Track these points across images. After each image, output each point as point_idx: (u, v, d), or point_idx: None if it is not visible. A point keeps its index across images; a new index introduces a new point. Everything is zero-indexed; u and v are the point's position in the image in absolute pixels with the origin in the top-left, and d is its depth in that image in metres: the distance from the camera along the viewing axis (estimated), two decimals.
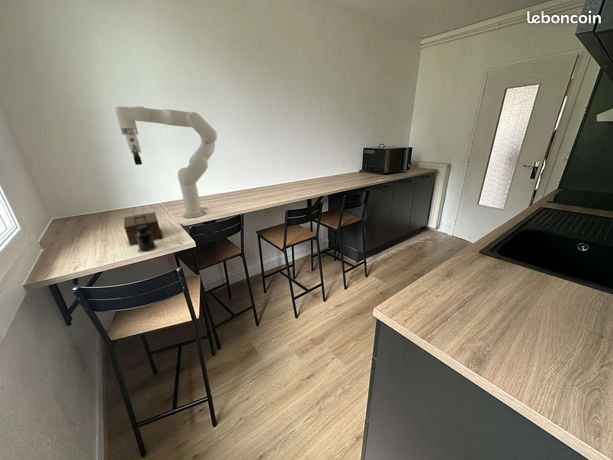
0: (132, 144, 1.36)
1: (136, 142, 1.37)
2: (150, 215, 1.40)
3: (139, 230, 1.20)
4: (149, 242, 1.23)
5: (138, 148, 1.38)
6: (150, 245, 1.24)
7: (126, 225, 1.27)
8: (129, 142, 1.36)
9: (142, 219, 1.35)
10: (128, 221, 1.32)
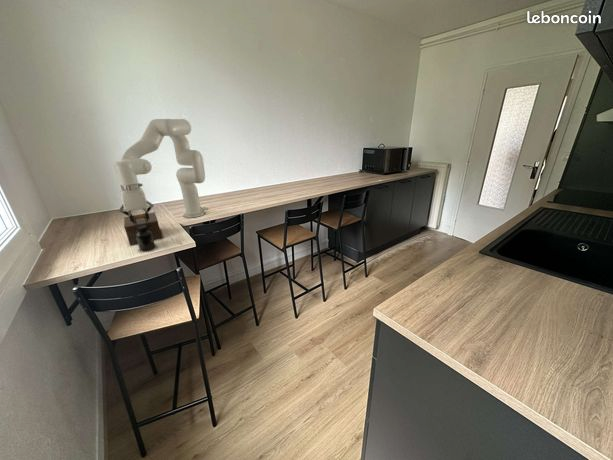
0: (145, 198, 1.28)
1: None
2: (150, 215, 1.40)
3: (139, 230, 1.20)
4: (149, 242, 1.23)
5: None
6: (150, 245, 1.24)
7: (126, 225, 1.27)
8: (144, 196, 1.26)
9: (142, 219, 1.35)
10: (128, 221, 1.32)
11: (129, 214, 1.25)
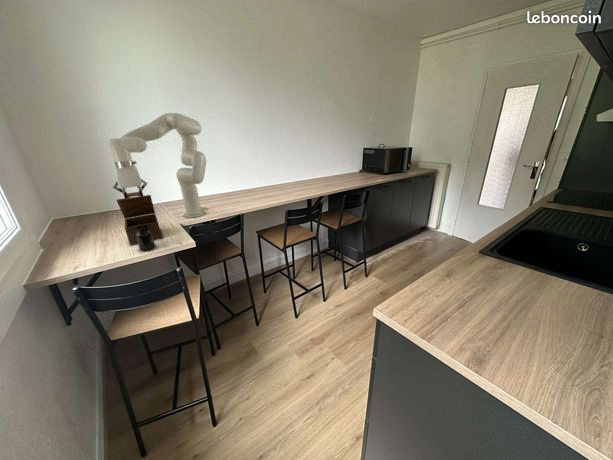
0: (139, 175, 1.31)
1: None
2: None
3: (139, 230, 1.20)
4: (149, 242, 1.23)
5: None
6: (150, 245, 1.24)
7: None
8: (138, 174, 1.29)
9: None
10: None
11: (123, 191, 1.28)
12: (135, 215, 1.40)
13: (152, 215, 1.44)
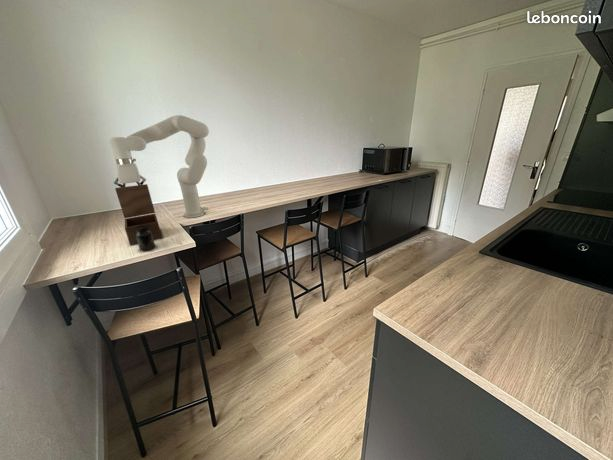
0: (138, 172, 1.39)
1: None
2: None
3: (139, 230, 1.20)
4: (149, 242, 1.23)
5: None
6: (150, 245, 1.24)
7: None
8: (137, 170, 1.38)
9: None
10: None
11: (123, 186, 1.37)
12: (135, 214, 1.40)
13: (152, 215, 1.44)
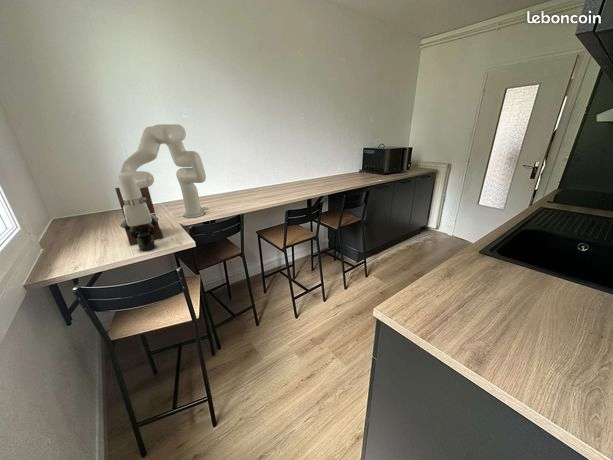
0: (149, 212, 1.22)
1: None
2: None
3: (139, 230, 1.20)
4: (149, 242, 1.23)
5: None
6: (150, 245, 1.24)
7: None
8: (148, 211, 1.20)
9: None
10: None
11: (130, 229, 1.19)
12: None
13: None
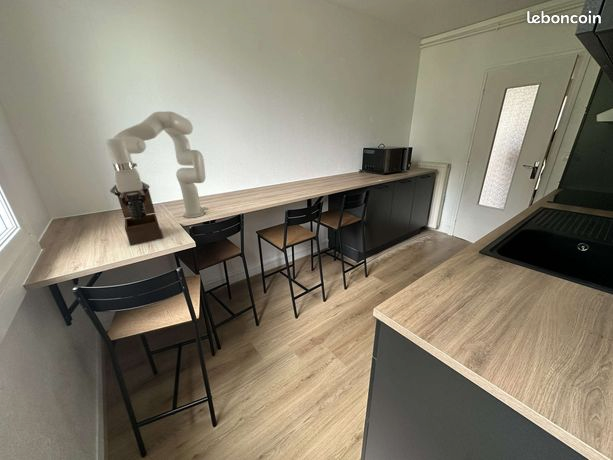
0: (140, 179, 1.20)
1: None
2: None
3: (130, 197, 1.19)
4: (140, 209, 1.22)
5: None
6: (142, 213, 1.23)
7: None
8: (139, 177, 1.19)
9: None
10: None
11: (121, 196, 1.18)
12: None
13: (152, 215, 1.44)
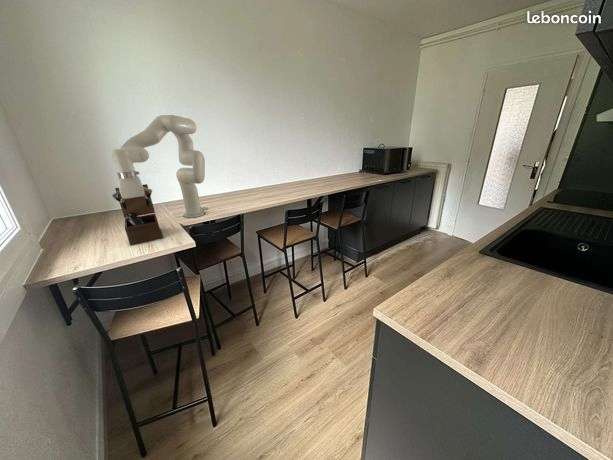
0: (142, 186, 1.29)
1: None
2: None
3: (127, 216, 1.34)
4: (139, 223, 1.35)
5: None
6: None
7: None
8: (141, 184, 1.28)
9: None
10: None
11: (121, 201, 1.26)
12: None
13: (152, 215, 1.44)
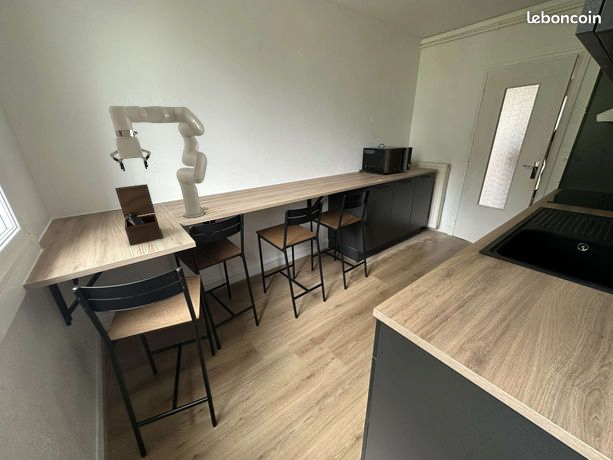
0: (140, 147, 1.26)
1: None
2: None
3: (127, 216, 1.35)
4: (139, 223, 1.35)
5: None
6: None
7: None
8: (139, 145, 1.25)
9: None
10: None
11: (119, 161, 1.23)
12: None
13: (152, 215, 1.44)
